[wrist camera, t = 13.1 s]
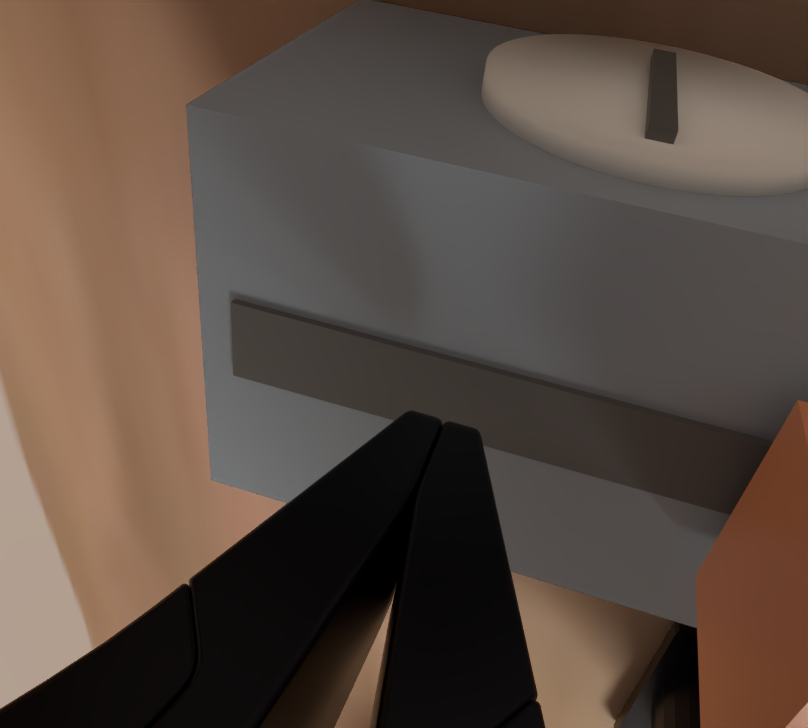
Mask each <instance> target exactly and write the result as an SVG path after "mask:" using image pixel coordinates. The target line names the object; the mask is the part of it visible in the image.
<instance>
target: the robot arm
mask: <svg viewBox="0 0 808 728" xmlns="http://www.w3.org/2000/svg"><path fill="white" fill-rule="evenodd" d="M394 593H395V594H394ZM393 596H394V599H393ZM392 599H393V604H392V609H391V614H390V619H389V623H388V629H387V634H386V640H385V645H384V651H383V656H382V662H381V668H380V673H379V679H378V684H377V690H376V695H375V701H374V706H373V712H372V717H371V723H370V728H545V724H544V720H543V715H542V711H541V706H540V704H539V703H538V702H537V701H536V699H537V689H536V685H535V680H534V676H533V671H532V667H531V662H530V657H529V653H528V648H527V644H526V639H525V634H524V630H523V625H522V621H521V616H520V612H519V607H518V602H517V598H516V593H515V589H514V584H513V580H512V575H511V570H510V566H509V561H508V557H507V552H506V547H505V543H504V538H503V534H502V529H501V525H500V520H499V515H498V511H497V506H496V502H495V497H494V492H493V488H492V483H491V479H490V474H489V470H488V465H487V460H486V456H485V451H484V447H483V442H482V437H481V434H480V432H479V431H478V430H477V429H475V428H472V427H469V426H465V425H462V424H458V423H455V422H451V421H447V422H445V423H444V424H443V426H442V421H441V420H440V419H439V418H437V417H434V416H431V415H427V414H424V413H420V412H417V411H412V410H411V411H407V412H405V413H404V414H402V415H401V416H400V417H399V418H397V419H396V420H395V421H393V422H392V423H391V424H389V425H388V426H387V427H386V428H384V429H383V430H382V431H380V432H379V433H378V434H377V435H375V436H374V437H373V438H371V439H370V440H369V441H368V442H366V443H365V444H364V445H362V446H361V447H360V448H358V449H357V450H356V451H355V452H353V453H352V454H351V455H349V456H348V457H347V458H346V459H344V460H343V461H342V462H340V463H339V464H338V465H336V466H335V467H334V468H333V469H331V470H330V471H329V472H327V473H326V474H325V475H324V476H322V477H321V478H320V479H318V480H317V481H316V482H314V483H313V484H312V485H311V486H309V487H308V488H307V489H305V490H304V491H303V492H302V493H300V494H299V495H298V496H296V497H295V498H294V499H292V500H291V501H290V502H289V503H287V504H286V505H285V506H283V507H282V508H281V509H280V510H278V511H277V512H276V513H274V514H273V515H272V516H270V517H269V518H268V519H267V520H265V521H264V522H263V523H261V524H260V525H259V526H258V527H256V528H255V529H254V530H252V531H251V532H250V533H248V534H247V535H246V536H245V537H243V538H242V539H241V540H239V541H238V542H237V543H236V544H234V545H233V546H232V547H230V548H229V549H228V550H227V551H225V552H224V553H223V554H221V555H220V556H219V557H217V558H216V559H215V560H214V561H212V562H211V563H210V564H208V565H207V566H206V567H205V568H203V569H202V570H201V571H199V572H198V573H197V574H195V575H194V576H193V577H192V578H191V579H190V580H189V586H188V585H187V584H182V585H181V586H179V587H178V588H177V589H175V590H174V591H173V592H172V593H170V594H169V595H168V596H166V597H165V598H164V599H163V600H161V601H160V602H159V603H158V604H156V605H155V606H154V607H152V608H151V609H150V610H148V611H147V612H146V613H144V614H143V615H141V616H140V617H139V618H137V619H136V620H135V621H133V622H132V623H130V624H129V625H128V626H126V627H125V628H124V629H122V630H121V631H119V632H118V633H117V634H115V635H114V636H113V637H111V638H110V639H108V640H107V641H106V642H104V643H103V644H101V645H100V646H98V647H97V648H95V649H94V650H92V651H90V652H89V653H87V654H86V655H84V656H83V657H81V658H80V659H78V660H77V661H75V662H74V663H72V664H70V665H69V666H67V667H66V668H64V669H63V670H61V671H60V672H58V673H57V674H55V675H54V676H52V677H51V678H49V679H47V680H46V681H44V682H43V683H41V684H39V685H38V686H36V687H35V688H33V689H31V690H30V691H28V692H26V693H25V694H23V695H22V696H20V697H18V698H17V699H15V700H14V701H12V702H10V703H9V704H7V705H6V706H4V707H2V708H1V709H0V728H334V727H335V725H336V722H337V720H338V718H339V716H340V714H341V712H342V709H343V707H344V705H345V703H346V701H347V699H348V696H349V694H350V692H351V690H352V688H353V686H354V683H355V681H356V679H357V677H358V675H359V673H360V670H361V668H362V666H363V664H364V662H365V660H366V657H367V655H368V653H369V651H370V649H371V647H372V644H373V642H374V640H375V638H376V636H377V634H378V631H379V629H380V627H381V625H382V623H383V621H384V618H385V616H386V613H387V611H388V609H389V606H390V604H391V602H392ZM614 728H701V727H700V697H699V668H698V638H697V628H695V627H691V626H688V625H685V624H682V623H678V622H675V623H674V624H673V626H672V628H671V629H670V631H669V633H668V635H667V636H666V638H665V640H664V641H663V643H662V645H661V646H660V648H659V650H658V651H657V653H656V655H655V656H654V658H653V660H652V661H651V663H650V665H649V667H648V668H647V670H646V672H645V673H644V675H643V677H642V678H641V680H640V682H639V683H638V685H637V687H636V688H635V690H634V692H633V693H632V695H631V697H630V699H629V700H628V702H627V704H626V705H625V707H624V709H623V710H622V712H621V714H620V715H619V717H618V719H617V720H616V722H615V724H614Z"/></svg>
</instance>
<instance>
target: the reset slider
mask: <svg viewBox="0 0 808 728" xmlns="http://www.w3.org/2000/svg"><path fill="white" fill-rule="evenodd" d="M695 579H696V609H697V638H698V668H699V697H700V727H701V728H808V402H804V401H800V400H797V402H796V404H795V406H794V407H793V409H792V411H791V412H790V414H789V416H788V418H787V419H786V421H785V423H784V424H783V426H782V428H781V430H780V431H779V433H778V435H777V436H776V438H775V440H774V442H773V443H772V445H771V447H770V448H769V450H768V452H767V454H766V455H765V457H764V459H763V460H762V462H761V464H760V466H759V467H758V469H757V471H756V472H755V474H754V476H753V478H752V479H751V481H750V483H749V484H748V486H747V488H746V490H745V491H744V493H743V495H742V496H741V498H740V500H739V502H738V503H737V505H736V507H735V508H734V510H733V512H732V514H731V515H730V517H729V519H728V520H727V522H726V524H725V525H724V527H723V529H722V531H721V532H720V534H719V536H718V537H717V539H716V541H715V543H714V544H713V546H712V548H711V549H710V551H709V553H708V555H707V556H706V558H705V560H704V561H703V563H702V565H701V567H700V568H699V570H698V572H697V573H696V575H695Z"/></svg>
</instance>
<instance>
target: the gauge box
mask: <svg viewBox="0 0 808 728" xmlns="http://www.w3.org/2000/svg"><path fill="white" fill-rule="evenodd" d="M186 108H187V123H188V138H189V153H190V168H191V184H192V199H193V214H194V229H195V244H196V259H197V274H198V289H199V304H200V319H201V334H202V349H203V364H204V379H205V394H206V409H207V425H208V440H209V455H210V470H211V480H213V481H216V482H219V483H223V484H226V485H229V486H233V487H236V488H239V489H242V490H246V491H249V492H252V493H256V494H259V495H262V496H265V497H269V498H272V499H275V500H278V501H282V502H285V503H289V502H290V501H291V500H292V499H294V498H295V497H296V496H298V495H299V494H300V493H302V492H303V491H304V490H305V489H307V488H308V487H309V486H311V485H312V484H313V483H314V482H316V481H317V480H318V479H320V478H321V477H322V476H324V475H325V474H326V473H327V472H329V471H330V470H331V469H333V468H334V467H335V466H336V465H338V464H339V463H340V462H342V461H343V460H344V459H346V458H347V457H348V456H349V455H351V454H352V453H353V452H355V451H356V450H357V449H358V448H360V447H361V446H362V445H364V444H365V443H366V442H368V441H369V440H370V439H371V438H373V437H374V436H375V435H377V434H378V433H379V432H380V431H382V430H383V429H384V428H386V427H387V426H388V425H389V424H391V423H392V422H393V421H395V420H396V419H397V418H399V417H400V416H401V415H402V414H404V413H405V412H407V411H411V410H412V411H417V412H420V413H424V414H427V415H431V416H434V417H437V418H439V419H440V420H441V421H442V426H443V424H444V423H445V422H447V421H451V422H455V423H458V424H462V425H465V426H469V427H472V428H475V429H477V430H478V431H479V432H480V434H481V437H482V442H483V447H484V451H485V456H486V460H487V465H488V470H489V474H490V479H491V483H492V488H493V492H494V497H495V502H496V506H497V511H498V515H499V520H500V525H501V529H502V534H503V538H504V543H505V547H506V552H507V557H508V561H509V566H510V570H511V572H514V573H518V574H521V575H524V576H528V577H531V578H534V579H537V580H541V581H544V582H547V583H551V584H554V585H557V586H560V587H564V588H567V589H570V590H573V591H577V592H580V593H583V594H587V595H590V596H593V597H596V598H600V599H603V600H606V601H610V602H613V603H616V604H619V605H623V606H626V607H629V608H632V609H636V610H639V611H642V612H646V613H649V614H652V615H655V616H659V617H662V618H665V619H669V620H672V621H675V622H678V623H682V624H685V625H688V626H691V627H695V628H697V609H696V579H695V575H696V573H697V572H698V570H699V568H700V567H701V565H702V563H703V561H704V560H705V558H706V556H707V555H708V553H709V551H710V549H711V548H712V546H713V544H714V543H715V541H716V539H717V537H718V536H719V534H720V532H721V531H722V529H723V527H724V525H725V524H726V522H727V520H728V519H729V517H730V515H731V514H732V512H733V510H734V508H735V507H736V505H737V503H738V502H739V500H740V498H741V496H742V495H743V493H744V491H745V490H746V488H747V486H748V484H749V483H750V481H751V479H752V478H753V476H754V474H755V472H756V471H757V469H758V467H759V466H760V464H761V462H762V460H763V459H764V457H765V455H766V454H767V452H768V450H769V448H770V447H771V445H772V443H773V442H774V440H775V438H776V436H777V435H778V433H779V431H780V430H781V428H782V426H783V424H784V423H785V421H786V419H787V418H788V416H789V414H790V412H791V411H792V409H793V407H794V406H795V404H796V402H797V400H800V401H804V402H808V85H805V84H800V83H795V82H790V81H785V80H780V79H778V78H776V77H773V76H770V75H768V74H765V73H763V72H760V71H758V70H755V69H752V68H749V67H746V66H743V65H740V64H737V63H734V62H731V61H728V60H724V59H721V58H718V57H714V56H710V55H707V54H703V53H699V52H695V51H691V50H686V49H682V48H678V47H673V46H668V45H663V44H658V43H652V42H646V41H640V40H633V39H626V38H618V37H609V36H598V35H582V34H549V35H548V34H543V33H538V32H533V31H528V30H522V29H517V28H512V27H507V26H502V25H497V24H492V23H486V22H481V21H476V20H471V19H466V18H461V17H456V16H450V15H445V14H440V13H435V12H430V11H425V10H420V9H414V8H409V7H404V6H399V5H394V4H389V3H384V2H378V1H373V0H357V1H356V2H354V3H352V4H351V5H349V6H347V7H346V8H344V9H342V10H341V11H339V12H337V13H336V14H334V15H333V16H331V17H329V18H328V19H326V20H324V21H323V22H321V23H319V24H318V25H316V26H315V27H313V28H311V29H310V30H308V31H306V32H305V33H303V34H301V35H300V36H298V37H296V38H295V39H293V40H292V41H290V42H288V43H287V44H285V45H283V46H282V47H280V48H278V49H277V50H275V51H273V52H272V53H270V54H269V55H267V56H265V57H264V58H262V59H260V60H259V61H257V62H255V63H254V64H252V65H250V66H249V67H247V68H246V69H244V70H242V71H241V72H239V73H237V74H236V75H234V76H232V77H231V78H229V79H227V80H226V81H224V82H223V83H221V84H219V85H218V86H216V87H214V88H213V89H211V90H209V91H208V92H206V93H204V94H203V95H201V96H200V97H198V98H196V99H195V100H193V101H191V102H190V103H188V104H186Z"/></svg>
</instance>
